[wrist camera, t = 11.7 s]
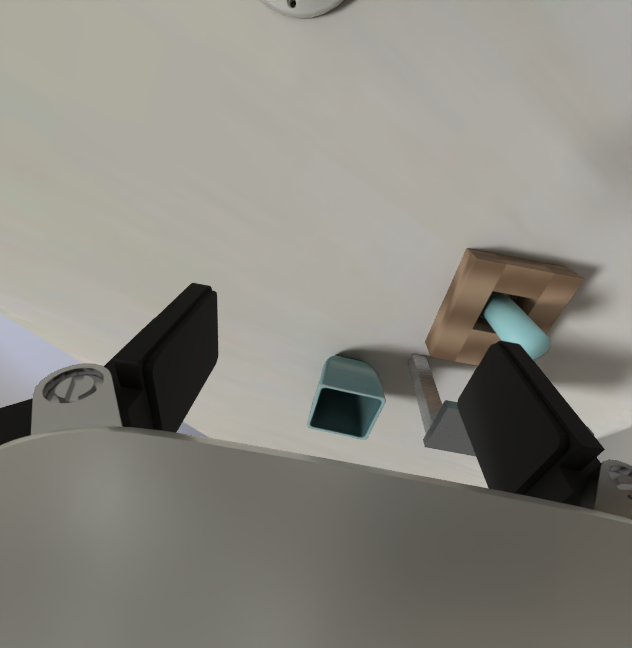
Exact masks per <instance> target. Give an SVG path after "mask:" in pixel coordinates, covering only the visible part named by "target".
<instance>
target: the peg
mask: <svg viewBox="0 0 632 648" xmlns="http://www.w3.org/2000/svg"><path fill="white" fill-rule="evenodd" d="M481 313H482V314H483V316H484V317H485V319H486V320H487V321H488V323H489V324H490V325H491V327H492V328H493V329H494V331H495V332H496V334H497V335H498V336H499V338H500V339H501V340H502V341H507V342H512V343H517V344H520V345H521V346H522V347H523V348H524V350H525V351H526V352H527V353H528V355H529V356H530V357H531V358H532V360H534V359H537V358H539V357H541V356H542V355H544V354H545V353H546V352H547V351H548V349H549V347H550V339H549V337H548V336H547V335H546V334H545V333H544V332H543V331H542V330H541V329H540V328H539V327H538V326H537V325H536V324H535V323H534V322H533V321H532V320H531V319H530V318H529V317H528V316H527V315H526V313H525V312H524V311H523V310H522V309H521V308H520V307H519V306H518V305H517V304H516V303H515V302H514V301H513V300H512V299H511V298H510V297H509V296H508V295H507V294H506V293H500V292H495V291H492V293H491V295H490V297H489V298H488V300H487V302H486V304H485V306H484V308H483V310H482V312H481Z"/></svg>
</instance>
